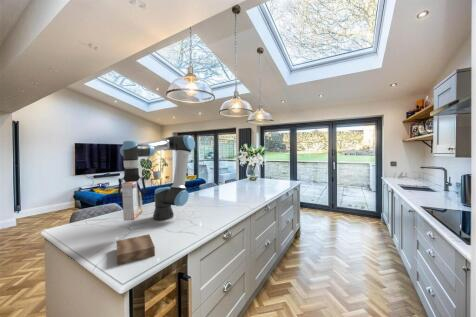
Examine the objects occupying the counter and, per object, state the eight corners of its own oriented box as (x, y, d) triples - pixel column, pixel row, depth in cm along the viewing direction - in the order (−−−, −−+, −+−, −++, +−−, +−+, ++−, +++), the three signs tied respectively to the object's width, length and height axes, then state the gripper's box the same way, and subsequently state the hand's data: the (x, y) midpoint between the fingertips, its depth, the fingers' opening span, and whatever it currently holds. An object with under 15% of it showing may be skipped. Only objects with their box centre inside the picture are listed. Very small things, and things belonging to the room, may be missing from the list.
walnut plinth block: (149, 242, 118) (149, 234, 117) (154, 256, 102) (154, 246, 102) (116, 250, 109) (116, 240, 109) (117, 266, 94) (116, 255, 94)
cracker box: (132, 213, 128) (131, 179, 127) (142, 212, 129) (141, 179, 128) (122, 220, 114) (121, 183, 113) (134, 220, 115) (132, 182, 114)
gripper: (110, 169, 112) (112, 211, 113) (151, 167, 122) (152, 205, 123) (110, 168, 118) (112, 208, 120) (149, 166, 128) (151, 202, 129)
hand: (133, 206), depth 121 cm, fingers closed on cracker box, 8 cm apart
